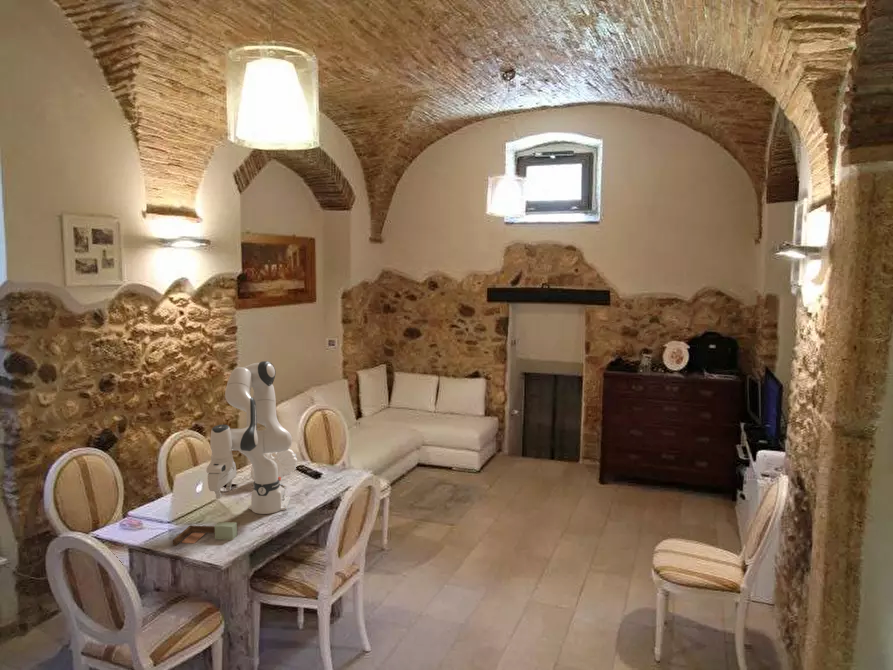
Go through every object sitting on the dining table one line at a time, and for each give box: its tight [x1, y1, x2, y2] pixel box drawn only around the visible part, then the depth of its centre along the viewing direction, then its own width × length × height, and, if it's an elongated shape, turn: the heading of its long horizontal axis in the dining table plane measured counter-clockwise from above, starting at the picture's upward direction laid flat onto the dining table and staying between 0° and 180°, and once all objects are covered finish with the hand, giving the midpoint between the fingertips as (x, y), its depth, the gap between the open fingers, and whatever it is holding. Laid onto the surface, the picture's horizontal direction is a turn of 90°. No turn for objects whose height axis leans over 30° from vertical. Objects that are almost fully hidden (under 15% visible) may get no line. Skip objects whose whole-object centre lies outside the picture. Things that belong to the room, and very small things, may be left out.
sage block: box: [214, 521, 238, 541], centre depth 282 cm, size 4×8×6 cm, turn 84°
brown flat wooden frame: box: [172, 524, 215, 546], centre depth 282 cm, size 15×13×2 cm
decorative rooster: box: [250, 448, 298, 481], centre depth 349 cm, size 25×16×25 cm, turn 73°
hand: (223, 494), depth 280 cm, fingers open, 8 cm apart
